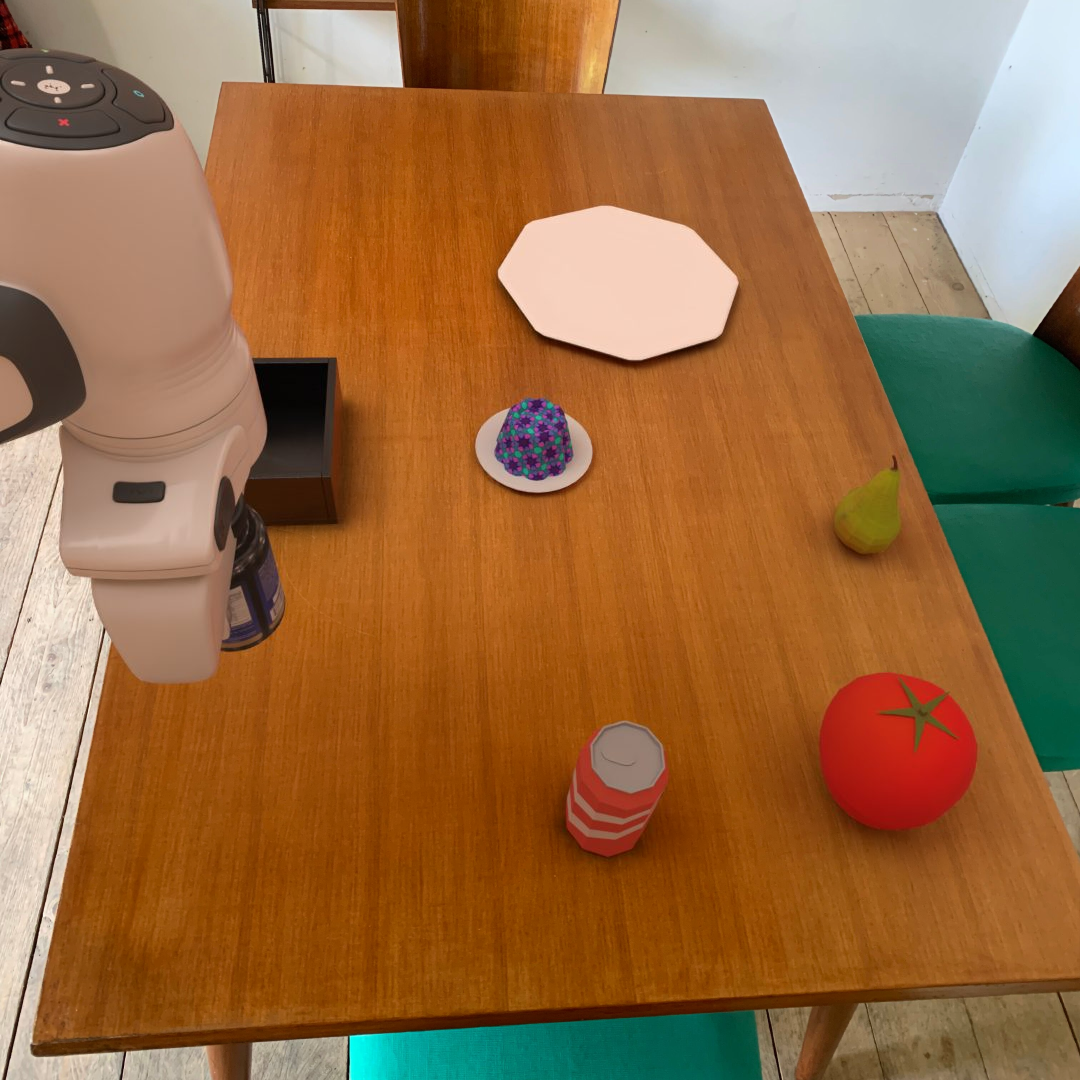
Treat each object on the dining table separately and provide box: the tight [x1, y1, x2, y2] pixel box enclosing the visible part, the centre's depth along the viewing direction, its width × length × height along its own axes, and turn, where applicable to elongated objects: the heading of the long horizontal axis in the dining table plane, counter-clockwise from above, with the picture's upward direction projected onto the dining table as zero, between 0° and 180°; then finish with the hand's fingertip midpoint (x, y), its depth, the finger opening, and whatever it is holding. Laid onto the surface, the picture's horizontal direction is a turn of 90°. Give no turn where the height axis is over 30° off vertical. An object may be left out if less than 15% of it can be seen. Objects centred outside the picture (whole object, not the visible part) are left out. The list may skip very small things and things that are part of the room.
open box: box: [244, 356, 344, 526], centre depth 88 cm, size 14×16×7 cm
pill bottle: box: [220, 492, 286, 653], centre depth 54 cm, size 6×6×11 cm
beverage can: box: [565, 719, 670, 858], centre depth 67 cm, size 6×6×12 cm
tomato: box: [818, 671, 978, 831], centre depth 70 cm, size 11×11×13 cm
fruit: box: [832, 454, 902, 555], centre depth 86 cm, size 6×6×12 cm
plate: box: [497, 205, 740, 362], centre depth 111 cm, size 28×28×2 cm
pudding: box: [474, 397, 593, 493], centre depth 92 cm, size 12×12×5 cm
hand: (224, 576), depth 55 cm, fingers closed on pill bottle, 6 cm apart
